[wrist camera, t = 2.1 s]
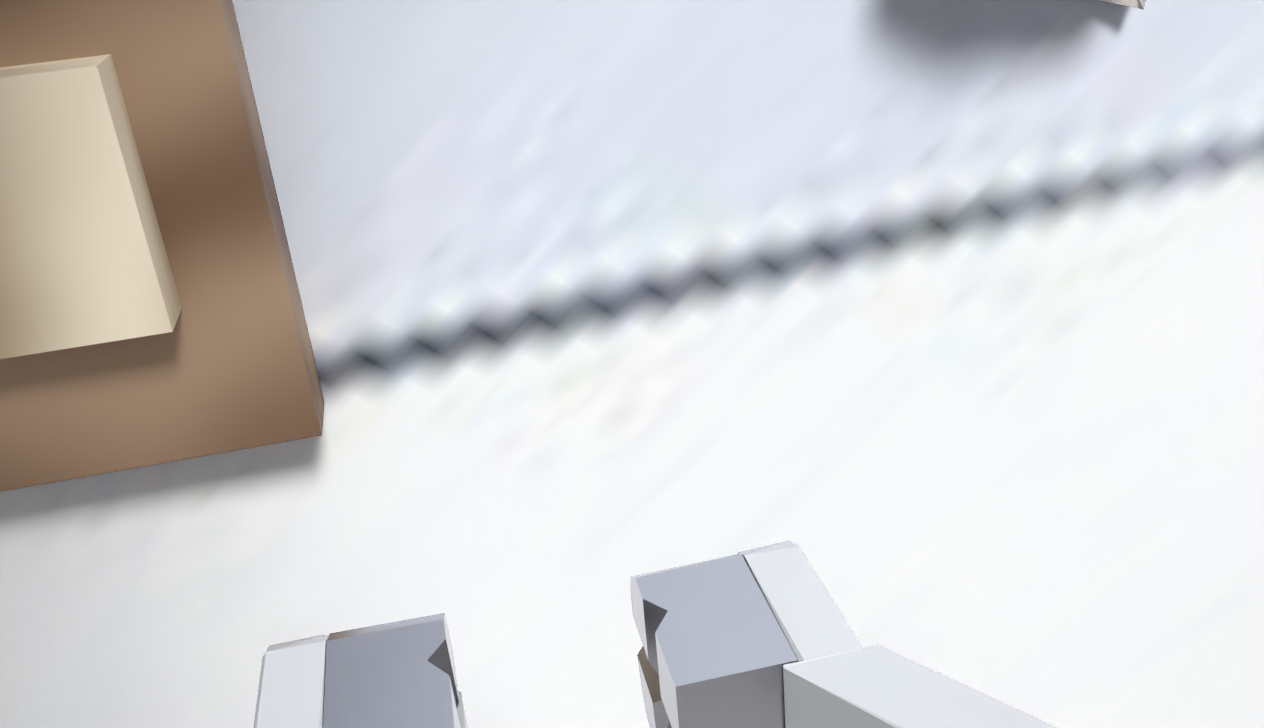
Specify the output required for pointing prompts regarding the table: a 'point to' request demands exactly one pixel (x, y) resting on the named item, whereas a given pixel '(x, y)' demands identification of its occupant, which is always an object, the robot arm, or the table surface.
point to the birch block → (75, 214)
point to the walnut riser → (170, 260)
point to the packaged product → (1129, 3)
